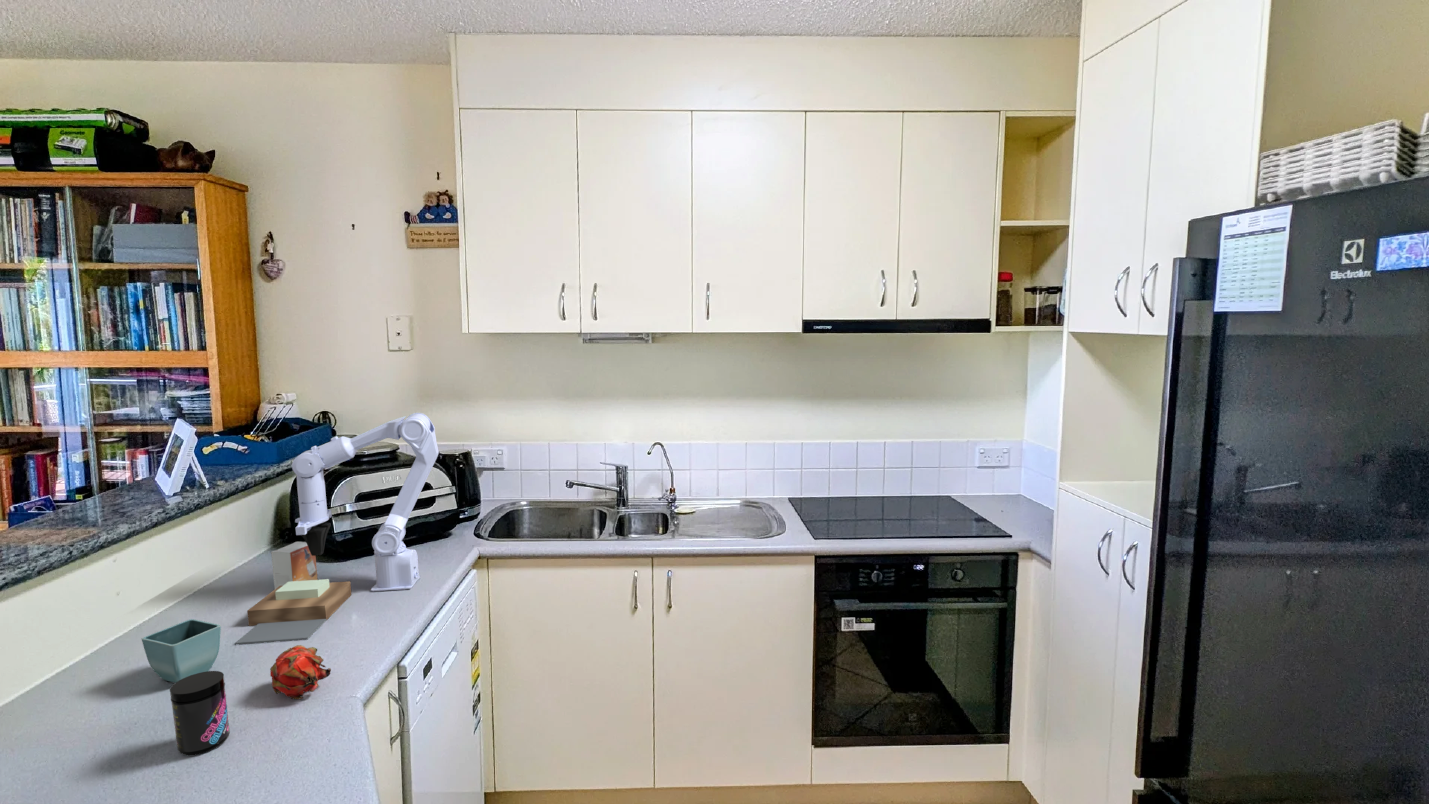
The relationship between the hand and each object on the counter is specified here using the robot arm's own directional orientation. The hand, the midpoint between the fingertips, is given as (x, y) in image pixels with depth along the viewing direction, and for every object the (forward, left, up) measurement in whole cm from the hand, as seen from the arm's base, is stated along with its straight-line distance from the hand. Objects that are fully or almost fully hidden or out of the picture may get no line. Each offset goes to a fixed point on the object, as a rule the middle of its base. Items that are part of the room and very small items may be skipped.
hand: (317, 554), depth 162 cm
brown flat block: (0, +9, -10) cm, 14 cm away
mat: (-1, +21, -10) cm, 23 cm away
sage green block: (0, +8, -6) cm, 11 cm away
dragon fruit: (-16, +46, -10) cm, 50 cm away
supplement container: (-8, +60, -10) cm, 62 cm away
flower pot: (+8, +37, -10) cm, 40 cm away
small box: (+8, -6, -10) cm, 14 cm away
